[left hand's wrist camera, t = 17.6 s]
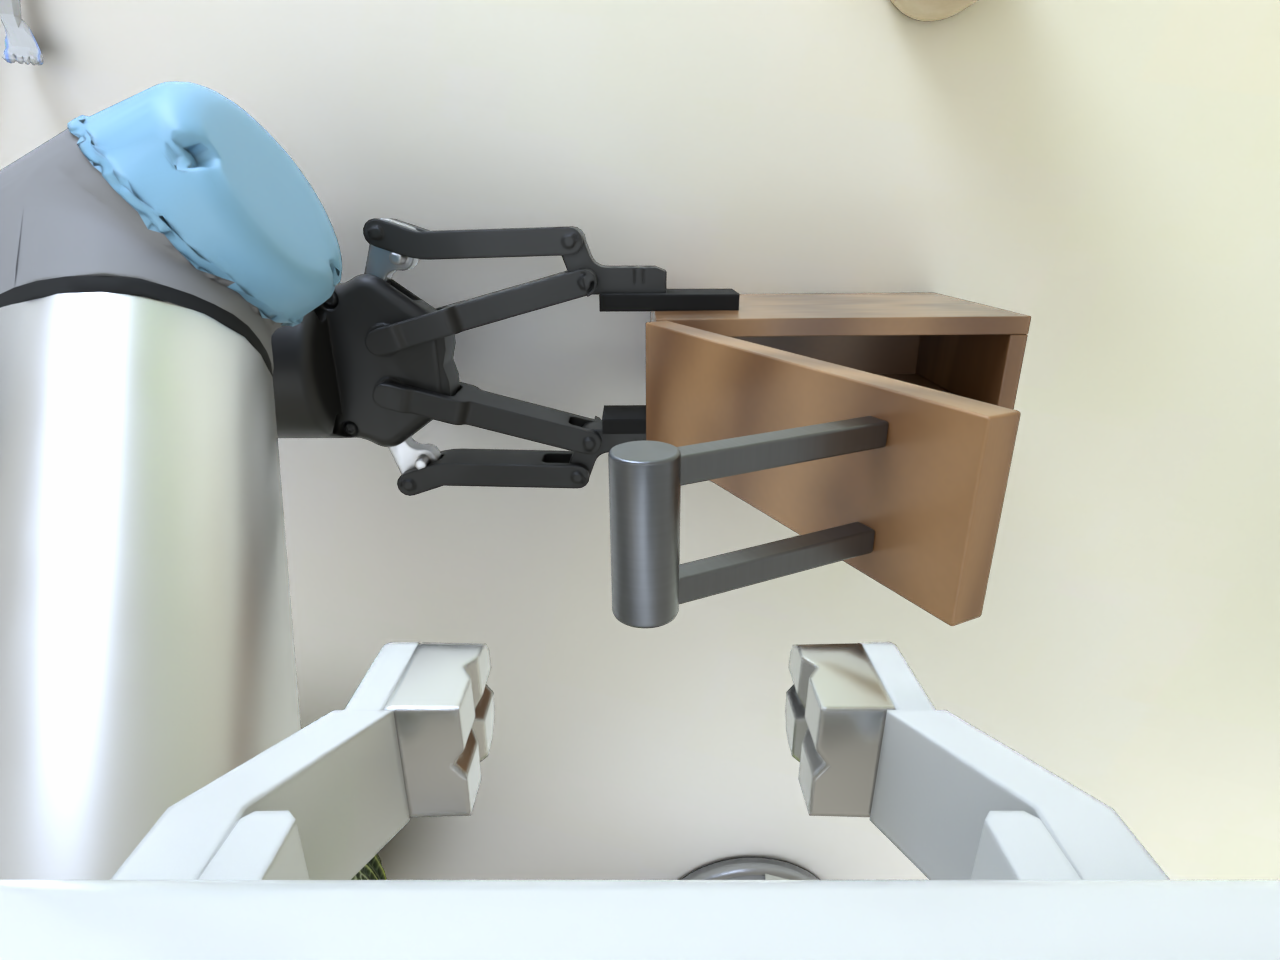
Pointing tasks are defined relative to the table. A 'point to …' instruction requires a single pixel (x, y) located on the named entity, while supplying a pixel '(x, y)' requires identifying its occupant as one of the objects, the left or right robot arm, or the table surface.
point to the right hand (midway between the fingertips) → (731, 360)
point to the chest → (885, 336)
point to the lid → (805, 476)
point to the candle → (931, 8)
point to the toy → (18, 36)
